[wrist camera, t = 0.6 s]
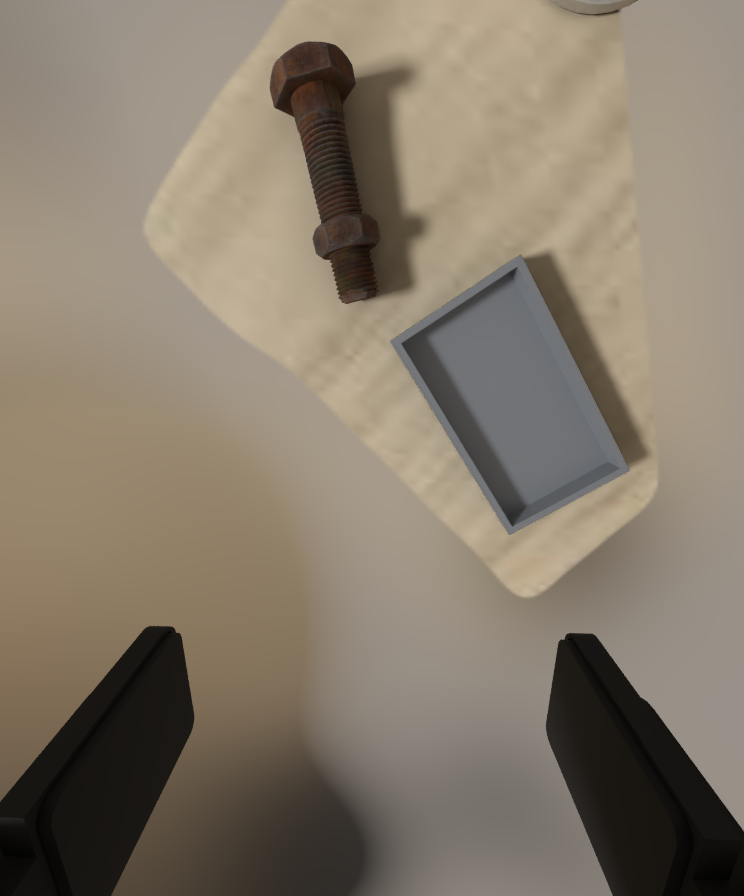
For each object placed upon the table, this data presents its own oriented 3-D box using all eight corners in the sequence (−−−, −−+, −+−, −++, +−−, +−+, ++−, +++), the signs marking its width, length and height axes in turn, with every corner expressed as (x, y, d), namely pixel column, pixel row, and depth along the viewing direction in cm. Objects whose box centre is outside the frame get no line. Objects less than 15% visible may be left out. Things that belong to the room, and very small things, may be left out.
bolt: (353, 305, 34) (307, 103, 30) (404, 290, 31) (361, 65, 27) (312, 310, 29) (251, 72, 25) (367, 293, 27) (309, 23, 22)
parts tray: (510, 261, 31) (521, 254, 29) (613, 461, 35) (629, 470, 33) (389, 341, 33) (390, 341, 30) (501, 522, 37) (509, 535, 35)
